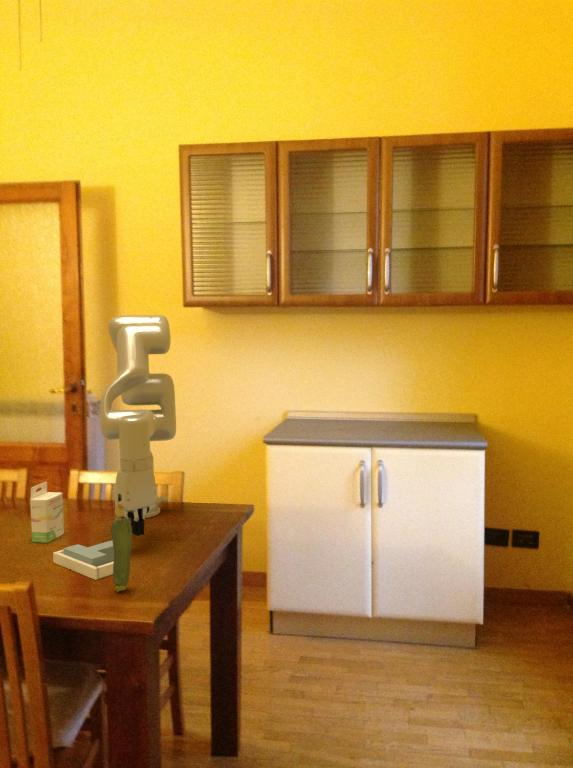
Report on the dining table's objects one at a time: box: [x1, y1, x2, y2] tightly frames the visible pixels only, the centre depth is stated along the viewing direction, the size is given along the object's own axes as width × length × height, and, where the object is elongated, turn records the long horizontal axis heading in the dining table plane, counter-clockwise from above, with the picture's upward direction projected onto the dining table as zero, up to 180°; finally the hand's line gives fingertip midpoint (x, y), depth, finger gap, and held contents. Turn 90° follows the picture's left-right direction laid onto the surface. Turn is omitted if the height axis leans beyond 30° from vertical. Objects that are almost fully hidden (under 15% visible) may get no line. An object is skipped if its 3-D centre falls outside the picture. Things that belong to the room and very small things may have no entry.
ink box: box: [29, 481, 65, 544], centre depth 187 cm, size 9×5×15 cm, turn 168°
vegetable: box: [110, 501, 133, 593], centre depth 149 cm, size 4×4×20 cm
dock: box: [52, 549, 114, 581], centre depth 165 cm, size 7×18×2 cm, turn 49°
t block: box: [62, 539, 114, 567], centre depth 167 cm, size 12×12×4 cm
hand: (137, 533), depth 177 cm, fingers closed
